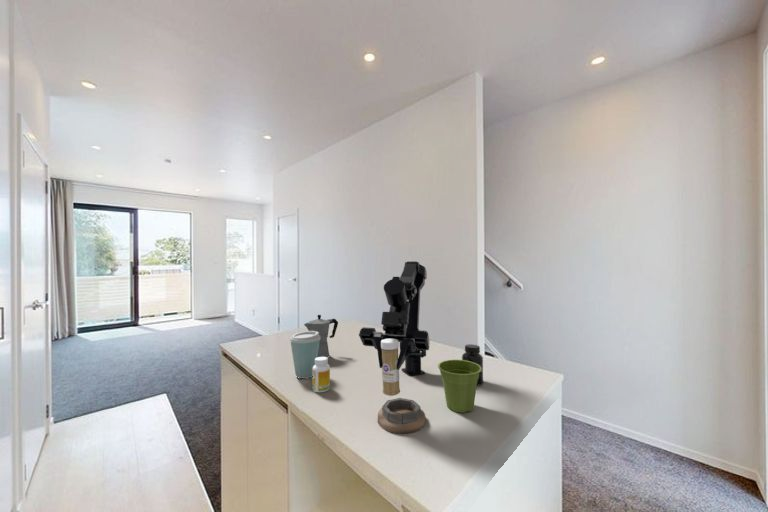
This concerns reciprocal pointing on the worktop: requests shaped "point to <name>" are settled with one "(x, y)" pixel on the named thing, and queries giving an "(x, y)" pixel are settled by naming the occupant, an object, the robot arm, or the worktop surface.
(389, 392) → the sprinkles bottle
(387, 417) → the brown grey round base
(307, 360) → the disposable coffee cup
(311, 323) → the coffeepot
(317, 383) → the supplement bottle
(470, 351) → the supplement bottle
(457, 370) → the plant pot
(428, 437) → the worktop surface
